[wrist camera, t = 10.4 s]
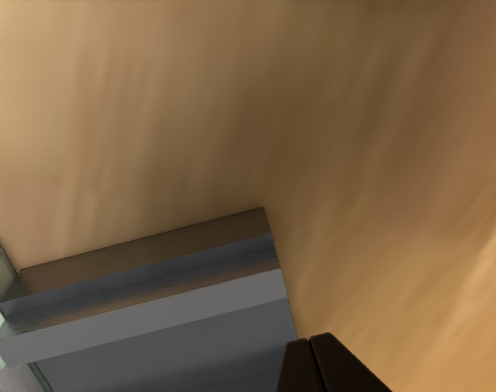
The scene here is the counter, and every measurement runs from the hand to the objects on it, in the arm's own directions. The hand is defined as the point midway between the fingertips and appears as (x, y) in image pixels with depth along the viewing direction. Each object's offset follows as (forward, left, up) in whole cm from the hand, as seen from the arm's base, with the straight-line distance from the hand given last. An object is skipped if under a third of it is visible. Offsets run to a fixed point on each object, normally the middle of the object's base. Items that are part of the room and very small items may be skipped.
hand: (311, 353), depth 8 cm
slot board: (+6, +8, -12) cm, 16 cm away
